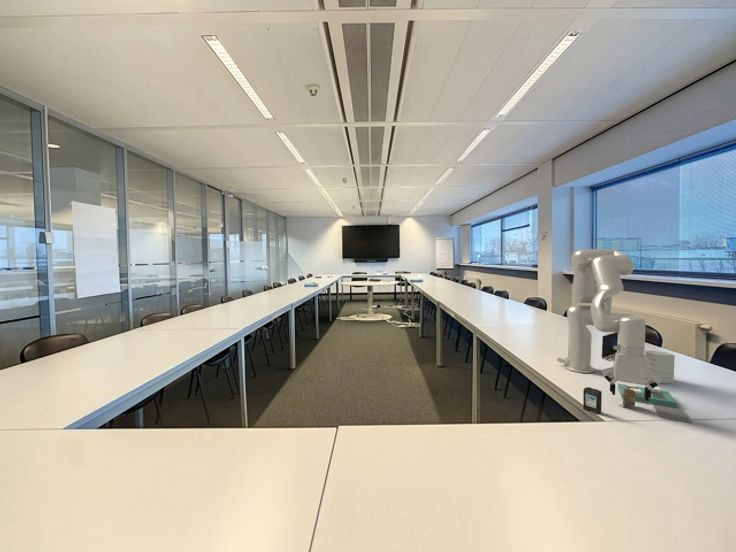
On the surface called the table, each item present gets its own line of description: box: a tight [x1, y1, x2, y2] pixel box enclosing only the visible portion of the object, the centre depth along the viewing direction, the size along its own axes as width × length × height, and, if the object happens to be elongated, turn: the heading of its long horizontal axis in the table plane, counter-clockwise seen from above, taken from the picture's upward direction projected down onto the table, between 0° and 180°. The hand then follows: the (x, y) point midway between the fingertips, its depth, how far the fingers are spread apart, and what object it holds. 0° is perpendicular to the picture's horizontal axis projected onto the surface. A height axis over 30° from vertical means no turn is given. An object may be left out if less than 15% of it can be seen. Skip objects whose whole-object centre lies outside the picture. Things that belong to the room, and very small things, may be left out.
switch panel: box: [617, 383, 678, 409], centre depth 130 cm, size 16×12×2 cm
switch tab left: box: [630, 388, 641, 395], centre depth 129 cm, size 3×2×1 cm
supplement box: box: [644, 349, 676, 384], centre depth 147 cm, size 7×7×13 cm
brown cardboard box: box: [622, 388, 636, 410], centre depth 122 cm, size 3×4×6 cm
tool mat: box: [652, 404, 693, 424], centre depth 116 cm, size 8×10×1 cm
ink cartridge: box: [582, 386, 603, 415], centre depth 118 cm, size 5×2×8 cm, turn 32°
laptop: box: [601, 332, 619, 362], centre depth 178 cm, size 18×12×13 cm
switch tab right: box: [651, 386, 662, 393], centre depth 130 cm, size 3×2×1 cm
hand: (629, 396), depth 121 cm, fingers open, 9 cm apart
